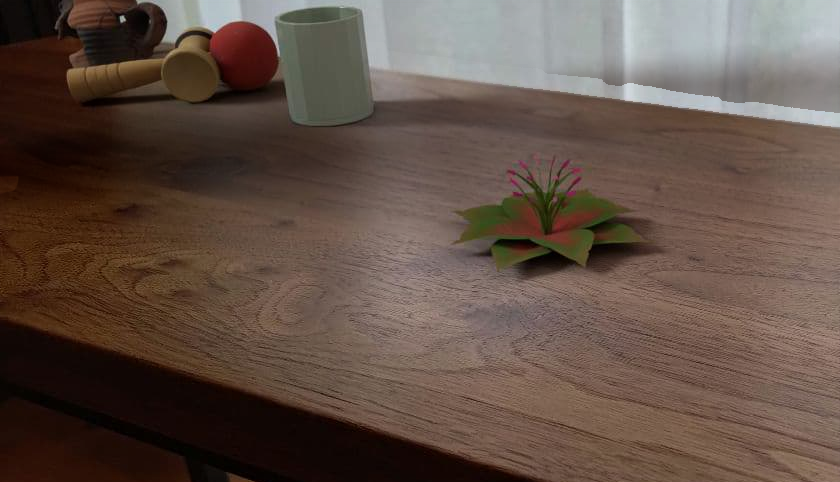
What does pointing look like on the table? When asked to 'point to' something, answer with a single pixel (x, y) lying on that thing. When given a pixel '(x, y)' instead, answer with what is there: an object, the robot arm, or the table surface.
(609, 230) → the lily flower
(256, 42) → the kendama
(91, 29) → the pottery mug
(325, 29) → the cup
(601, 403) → the table surface
